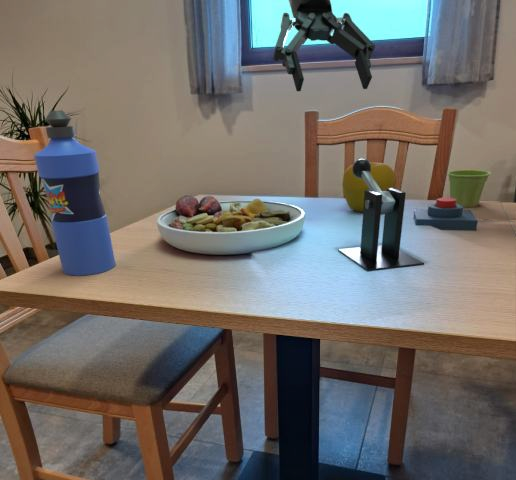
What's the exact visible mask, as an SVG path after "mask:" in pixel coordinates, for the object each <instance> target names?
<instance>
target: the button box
mask: <svg viewBox="0 0 516 480" xmlns="http://www.w3.org/2000/svg"><path fill="white" fill-rule="evenodd" d="M412 218H413V220H414V224H415V226H427V227H432V228H435V229H438V230H439V231H464V232H465V231H467V232H468V231H471V232H475V231H477V226H478V219H477V217H476V216H475V214H474V213H473V211H472V210H471V209H464V207H463V206H462V205H459V204H456V207H455V208H439V207H436V202H435V203H430V204H428V205H427V209H423V208H421V209H420V208H419V209H418V208H415V209H413V217H412Z"/></svg>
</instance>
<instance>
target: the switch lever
mask: <svg viewBox="0 0 516 480" xmlns="http://www.w3.org/2000/svg"><path fill="white" fill-rule="evenodd" d="M369 162H370V161H369V160H368V159H366V158H359V159H357V160H356V161H355V162H354V163H353V164H354V165H353V164H352V165H353V167H352V171H353V174H354V176H356V177H357V178H363V180H364V181H365V183H366V185H367V186H368V188H369V189H370V190H371V191H374V192H377V193H380V194H382V205H381V216H382V215H385V214H391V213H392V210H393V207H394V204H395V200H394V198H393V197H392V195H391V194H390V192H389V191H383V192H382V191H381V189H380V188H379V186H378V185H377V183H376V182H375V180H374V179H373V177H372V176H371V174H370V171H371V165H370V163H369Z"/></svg>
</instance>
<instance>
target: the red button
mask: <svg viewBox="0 0 516 480" xmlns="http://www.w3.org/2000/svg"><path fill="white" fill-rule="evenodd" d="M435 201H436V202H435V203H436V207H439V208H455V207H456V201H457V200H456V199H454V198H450V197H439V198H436V200H435Z"/></svg>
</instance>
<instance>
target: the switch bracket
mask: <svg viewBox="0 0 516 480" xmlns="http://www.w3.org/2000/svg"><path fill="white" fill-rule="evenodd" d="M387 191H389V192H390V194H391V195H392V197H393V198H394V200H395V204H394V207H393V210H392V213H391V214H384V217H383V218H384V219H383V227H382V229H383V230H382V238H381V239H382V240H381V244H379V237H380V226H381V216H382V215H381V205H382V194H380V193H377V192H374V191H371V190H365V193H364V207H363V212H362V220H361V234H360V235H361V237H360V246H358V247H349V248H347V247H346V248H339V249H337V251H338V252H339V253H340V254H342V255H343V256H344V257H346V258H347V259H349V260H350V261H351V262H353V263H354V264H356V265H357V266H358V267H360V268H361V269H363V270H364V271H366V272H374V271H375V272H376V271H383V270H385V271H386V270H392V269H393V270H394V269H401V268H410V267H417V266H418V267H419V266H425V262H423V261H421V260H419V259H417V258H416V257H414V256H412V255H410V254H408V253H406V252H405V251H402V250H401V249H400V248H401V239H402V230H403V221H404V212H405V204H406V194H407V193H406V191H402V190H399V189H397V188H394V189H393V188H389V189H387Z"/></svg>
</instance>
